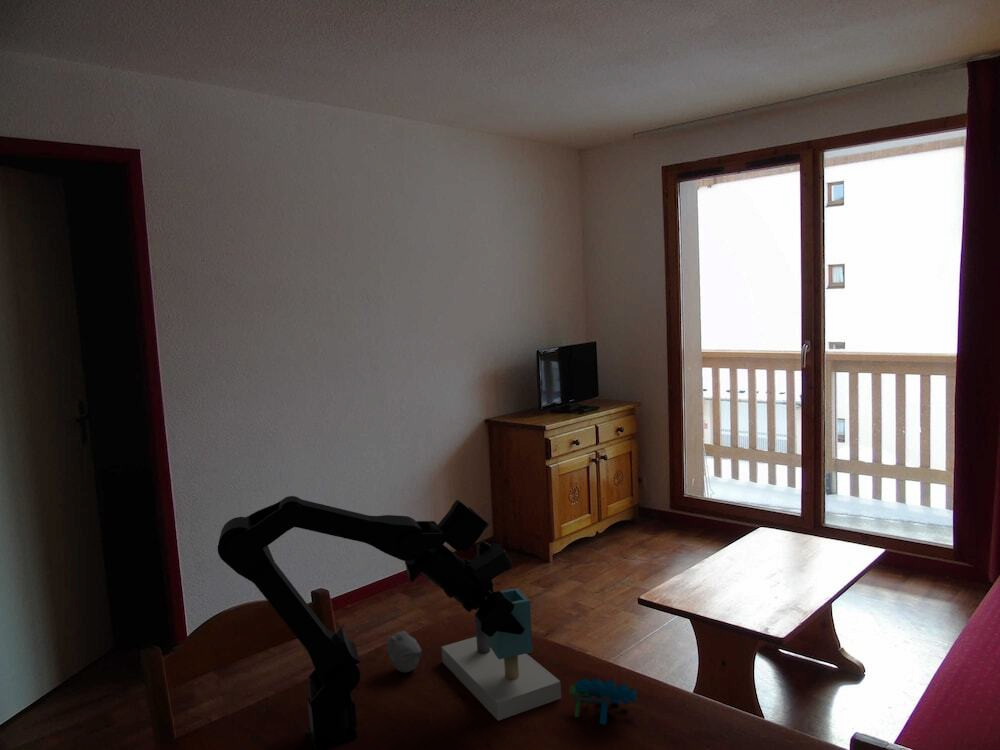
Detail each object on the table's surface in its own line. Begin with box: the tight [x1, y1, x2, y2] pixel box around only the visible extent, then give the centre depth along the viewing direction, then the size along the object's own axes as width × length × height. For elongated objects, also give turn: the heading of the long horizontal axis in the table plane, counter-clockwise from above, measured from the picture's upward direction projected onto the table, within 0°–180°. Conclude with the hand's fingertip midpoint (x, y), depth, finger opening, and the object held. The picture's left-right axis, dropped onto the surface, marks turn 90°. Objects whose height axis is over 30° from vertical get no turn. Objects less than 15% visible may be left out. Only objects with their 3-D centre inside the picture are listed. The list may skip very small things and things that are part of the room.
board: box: [441, 623, 562, 722], centre depth 127 cm, size 12×23×8 cm, turn 27°
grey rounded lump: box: [385, 630, 422, 673], centre depth 132 cm, size 6×7×7 cm
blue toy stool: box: [568, 678, 638, 726], centre depth 114 cm, size 11×6×10 cm
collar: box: [485, 587, 533, 659], centre depth 122 cm, size 6×6×9 cm
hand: (516, 624), depth 122 cm, fingers closed on collar, 6 cm apart
